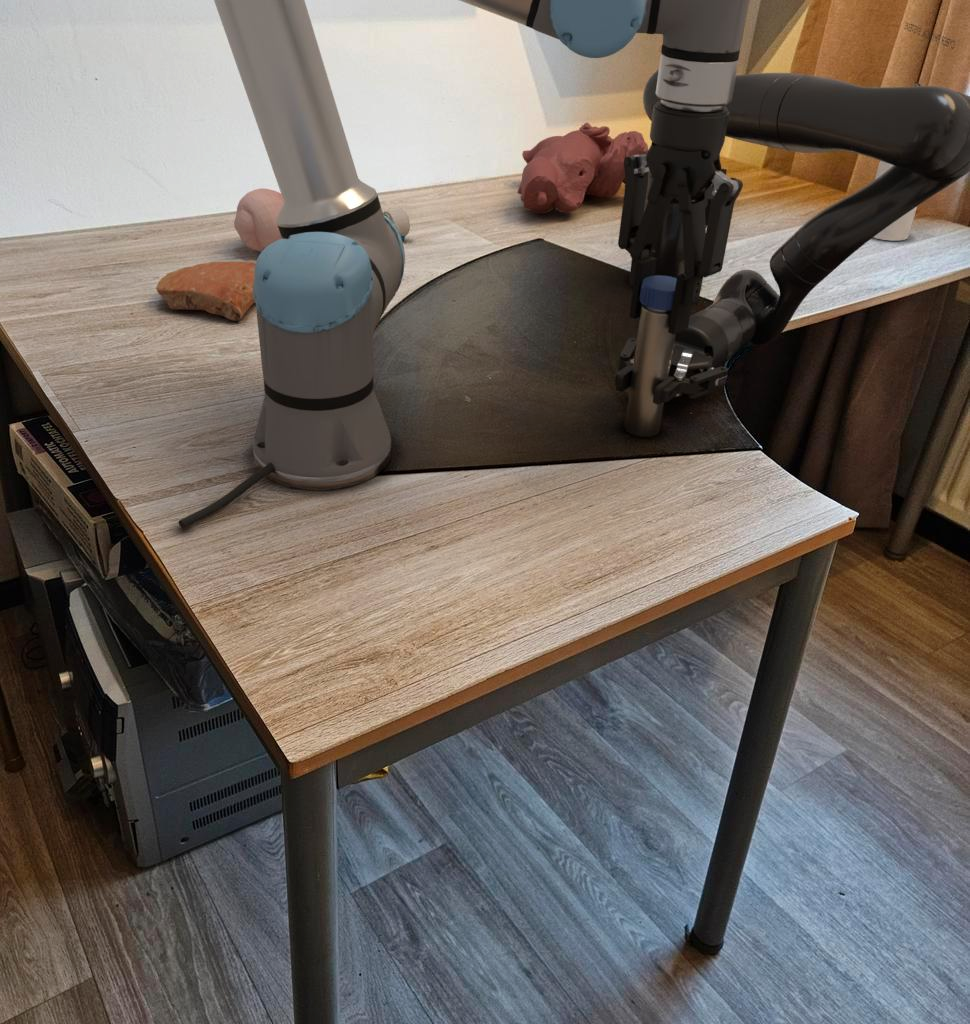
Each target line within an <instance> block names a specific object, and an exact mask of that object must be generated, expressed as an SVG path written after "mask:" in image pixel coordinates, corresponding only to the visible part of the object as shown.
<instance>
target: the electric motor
mask: <svg viewBox="0 0 970 1024" xmlns="http://www.w3.org/2000/svg"><path fill="white" fill-rule="evenodd" d="M383 215H384V216H387V217H388V218H389V219H390V220H391V222H392V223H393V224H394V225H395V227H396V228H397V230H398V232H399V234H400V236H401V239H402V241H404V240H405V238H406V236H407V235H409V233H410V229H411V222H410V218H409V216H408V213H407V212H406V210H404V209H403V208H397V209H392V210H387V211H384V212H383Z"/></svg>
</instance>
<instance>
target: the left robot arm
mask: <svg viewBox="0 0 970 1024" xmlns="http://www.w3.org/2000/svg"><path fill="white" fill-rule="evenodd" d="M213 1H214V4H215V7H216V10H217V13H218V16H219V18H220V22H221V25H222V27H223V31H224V33H225V36H226V39H227V43H228V45H229V48H230V50H231V53H232V56H233V58H234V62H235V64H236V65H235V66H236V68H237V71H238V74H239V76H240V78H241V82H242V85H243V87H244V91H245V94H246V97H247V100H248V102H249V105H250V108H251V111H252V115H253V116H254V120H255V123H256V125H257V129H258V131H259V134H260V137H261V140H262V142H263V145H264V148H265V151H266V154H267V157H268V160H269V163H270V165H271V168H272V171H273V175H274V177H275V180H276V183H277V186H278V188H279V193H281V195H282V197H283V206H282V208H281V210H280V212H279V214H278V216H277V219H276V223H277V225H278V228H279V231H280V234H281V237H282V239H279V240H277V241H275V242H273V243H271V244H270V245H269V246H267V247H266V248H265V249H264V250H263V251H262V252H260V254H259V255H258V257H257V259H256V261H255V262H254V263H255V269H254V278H255V279H254V284H253V287H254V291H253V296H254V301H255V302H254V303H255V310H256V311H255V312H256V320H257V330H258V340H259V349H260V359H261V369H262V379H263V388H264V390H263V391H264V396H263V400H262V404H261V408H260V412H259V415H258V419H257V423H256V427H255V430H254V434H253V439H252V441H253V442H252V455H253V460H254V464H255V467H256V468H257V471H256V472H255V473H252V475H250V476H249V477H247V478H246V479H244V480H243V481H242V482H240V483H239V484H238V485H237V486H235V487H234V488H233V489H232V490H230V491H229V492H228V493H226V494H225V495H223V496H222V497H220V498H219V499H217V500H216V501H214V502H212V503H211V504H208V505H207V506H206V507H203V508H202V509H200V510H198V511H196V512H194V513H192V514H189V515H187V516H185V517H183V518H181V519H179V520H178V526H179V527H180V528H181V529H182V530H184V529H186V528H188V527H190V526H192V525H194V524H196V523H198V522H200V521H202V520H204V519H206V518H208V517H210V516H212V515H214V514H215V513H217V512H219V511H221V510H222V509H224V508H225V507H226V506H228V505H230V504H231V503H233V502H234V501H235V500H237V499H238V498H239V497H240V496H241V495H243V494H244V493H245V492H247V491H248V490H249V489H251V488H253V486H255V485H256V484H258V483H259V482H260V481H262V480H263V479H265V478H268V479H269V480H271V481H273V482H275V483H278V484H280V485H283V486H286V487H290V488H295V489H301V490H312V491H314V490H315V491H323V490H327V491H328V490H337V489H342V488H348V487H351V486H355V485H358V484H361V483H363V482H366V481H368V480H370V479H373V478H374V477H375V476H377V475H378V474H380V473H381V472H382V471H383V470H384V469H385V468H386V467H387V466H388V464H389V463H390V461H391V458H392V437H391V432H390V430H389V427H388V424H387V422H386V419H385V417H384V413H383V411H382V408H381V406H380V403H379V400H378V398H377V395H376V393H375V385H374V333H375V329H376V327H377V326H378V324H379V322H380V320H381V318H382V316H383V315H384V313H385V312H386V310H387V308H388V306H389V305H390V303H391V301H392V300H393V299H394V297H395V296H396V294H397V292H398V291H399V288H400V286H401V285H402V281H403V277H404V274H405V273H404V272H405V264H406V252H405V246H404V242H403V240H402V239H401V236H400V234H399V232H398V230H397V228H396V227H395V225H394V224H393V223H392V222H391V220H390V219H389V218H388V217H387V216H384V215H383V213H384V212H383V208H382V206H381V202H380V198H379V195H378V193H377V190H376V189H375V188H374V187H372V186H371V185H369V184H367V183H365V182H363V181H362V180H361V179H360V178H359V176H358V172H357V170H356V169H357V168H356V165H355V162H354V159H353V156H352V153H351V149H350V146H349V143H348V140H347V139H348V138H347V136H346V132H345V130H344V126H343V123H342V119H341V117H340V113H339V110H338V106H337V103H336V100H335V96H334V93H333V90H332V87H331V83H330V80H329V77H328V73H327V70H326V66H325V64H324V61H323V57H322V53H321V51H320V47H319V43H318V41H317V37H316V33H315V31H314V27H313V24H312V20H311V17H310V13H309V10H308V7H307V3H306V1H305V0H213ZM459 1H460V2H462V3H465V4H468V5H470V6H473V7H476V8H479V9H481V10H484V11H487V12H489V13H492V14H494V15H496V16H500V17H502V18H505V19H507V20H510V21H513V22H515V23H518V24H521V25H523V26H525V27H528V28H529V29H532V30H534V31H536V32H538V33H541V34H543V35H546V36H549V37H551V38H554V39H557V40H559V41H560V42H561V43H562V45H564V46H565V47H567V48H568V49H569V51H571V52H572V53H574V54H576V55H579V56H581V57H583V58H588V59H589V58H590V59H601V58H602V59H603V58H606V57H610V56H613V55H614V54H616V53H618V52H620V51H622V50H623V49H624V48H625V47H626V46H628V45H629V43H630V42H631V41H632V40H633V39H634V37H635V36H636V34H647V35H662V44H661V49H660V59H659V66H658V69H659V72H658V80H657V87H656V95H657V97H658V98H660V99H661V101H658V102H657V103H656V104H655V105H654V107H653V115H652V121H651V123H650V129H649V130H650V131H649V139H650V141H651V144H650V146H649V147H648V151H647V154H645V155H644V154H637V155H633V156H629V157H626V158H625V159H624V169H625V176H626V184H624V192H623V193H624V194H623V201H622V209H621V216H620V225H619V232H618V239H617V246H618V247H619V249H620V250H625V251H626V252H627V253H629V255H630V258H631V262H630V269H629V278H628V282H629V283H628V284H629V286H631V287H632V294H631V301H630V309H629V316H628V317H629V318H630V319H633V320H637V319H638V318H640V315H641V308H642V303H641V302H640V291H641V285H642V282H643V279H645V278H646V277H649V276H654V275H655V269H656V262H657V258H654V257H649V258H648V256H649V255H650V254H653V253H655V251H653V250H654V249H653V247H654V245H655V242H656V239H657V237H658V234H659V231H660V228H661V226H662V223H663V220H664V218H665V215H666V212H667V210H668V207H669V204H670V202H671V201H672V200H673V199H674V198H675V199H676V200H678V201H679V211H680V212H681V213H682V226H683V251H684V273H682V274H680V275H678V276H677V280H676V287H675V293H674V299H673V305H672V311H671V317H670V324H669V330H668V333H671V334H673V335H674V334H676V333H678V332H681V331H683V330H685V329H688V325H689V319H690V316H691V313H692V307H693V306H695V305H697V304H698V302H699V301H700V298H701V297H700V296H701V290H702V285H703V280H704V278H708V277H711V276H713V275H716V274H717V273H720V272H721V271H722V270H723V266H724V260H725V256H726V250H727V244H728V239H729V234H730V228H731V223H732V217H733V211H734V206H735V202H736V201H737V199H738V197H739V195H740V193H741V191H742V190H743V187H744V184H743V181H742V180H741V179H740V178H736V179H735V180H732V179H730V177H729V176H728V175H727V174H726V175H725V174H724V173H723V172H721V169H723V168H722V163H721V152H722V149H723V148H724V144H725V142H726V141H725V140H726V136H725V135H726V129H727V124H728V118H729V111H728V109H727V108H726V107H725V106H724V105H727V104H728V103H730V102H731V101H732V96H733V91H734V85H735V79H736V75H737V72H738V67H739V61H740V54H741V48H742V43H743V37H744V31H745V26H746V21H747V17H748V10H749V5H750V0H459ZM649 171H650V172H651V175H652V178H653V182H652V185H651V187H650V190H649V193H648V196H647V199H648V203H647V206H646V209H645V212H644V208H645V201H646V194H647V186H648V173H649ZM712 184H714V189H713V191H712V196H714V198H713V200H712V203H711V207H710V213H709V218H708V224H707V225H706V223H705V208H706V207H707V204H708V197H707V189H708V188H709V187H710V186H712ZM692 200H694V201H692ZM691 201H692V202H691Z"/></svg>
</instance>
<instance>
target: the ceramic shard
mask: <svg viewBox="0 0 970 1024" xmlns="http://www.w3.org/2000/svg"><path fill="white" fill-rule="evenodd" d="M255 263H256V262H252V261H210V262H206V263H205V262H204V263H199V264H195V265H192V266H186V267H185V266H184V267H183V268H179V269H177V270H174V271H171V272H168V273H166V274H165V276H163V277H162V278H161V279H159V281H158V283H157V285H156V288H155V289H156V292H157V294H159V295H160V296H161V297H162V298H163V299H164V300H165V302H166V304H167V305H168V307H169V309H172V310H190V311H191V310H195V311H196V310H201V311H206V312H207V313H210V314H211V315H218V316H222V317H225V319H228V320H230V321H234V322H236V321H237V322H238V321H241V319H242V318H243V317H244V316H245V314H246V313H247V312H248V310H249V309H250V308H251V306H252V305H253V304H254V303H255V301H254V296H253V291H254V287H253V284H254V279H255V278H254V269H255Z"/></svg>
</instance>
